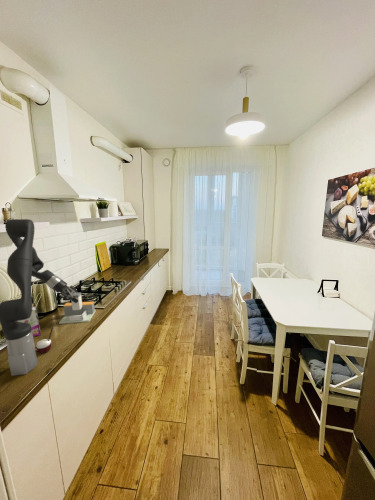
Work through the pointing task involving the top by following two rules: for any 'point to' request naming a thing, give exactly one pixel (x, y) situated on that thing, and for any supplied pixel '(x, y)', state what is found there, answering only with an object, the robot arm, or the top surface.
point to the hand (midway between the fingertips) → (78, 300)
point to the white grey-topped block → (79, 304)
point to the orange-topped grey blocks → (78, 313)
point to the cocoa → (44, 344)
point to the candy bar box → (33, 322)
